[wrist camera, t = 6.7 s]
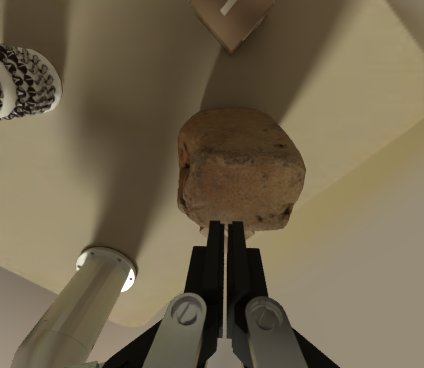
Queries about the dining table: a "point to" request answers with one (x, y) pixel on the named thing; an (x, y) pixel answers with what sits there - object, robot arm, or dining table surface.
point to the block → (238, 169)
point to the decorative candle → (27, 83)
